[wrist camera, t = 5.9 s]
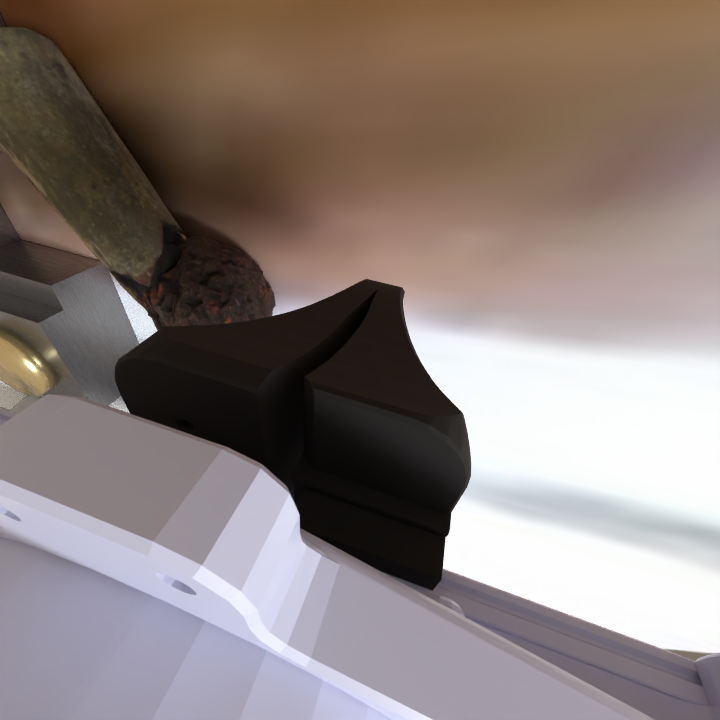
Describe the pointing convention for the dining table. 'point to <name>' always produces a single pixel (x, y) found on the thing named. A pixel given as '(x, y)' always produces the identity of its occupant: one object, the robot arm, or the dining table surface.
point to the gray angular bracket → (58, 321)
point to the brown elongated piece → (114, 195)
